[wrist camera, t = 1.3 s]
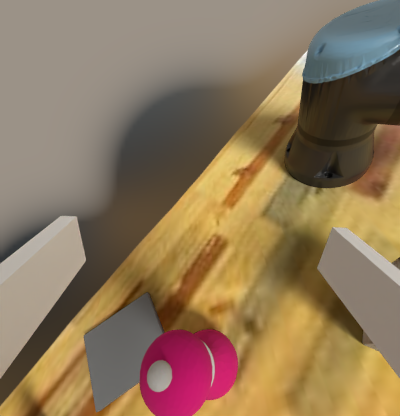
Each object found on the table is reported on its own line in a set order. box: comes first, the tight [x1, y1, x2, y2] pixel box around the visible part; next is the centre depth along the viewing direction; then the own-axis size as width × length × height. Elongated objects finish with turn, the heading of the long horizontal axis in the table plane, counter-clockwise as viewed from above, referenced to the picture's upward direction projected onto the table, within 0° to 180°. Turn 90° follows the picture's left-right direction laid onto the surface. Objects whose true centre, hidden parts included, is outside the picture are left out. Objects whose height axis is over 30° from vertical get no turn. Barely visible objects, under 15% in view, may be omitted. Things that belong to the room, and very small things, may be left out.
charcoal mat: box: [84, 292, 164, 412], centre depth 34 cm, size 13×11×1 cm
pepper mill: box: [140, 329, 238, 416], centre depth 22 cm, size 7×7×20 cm
